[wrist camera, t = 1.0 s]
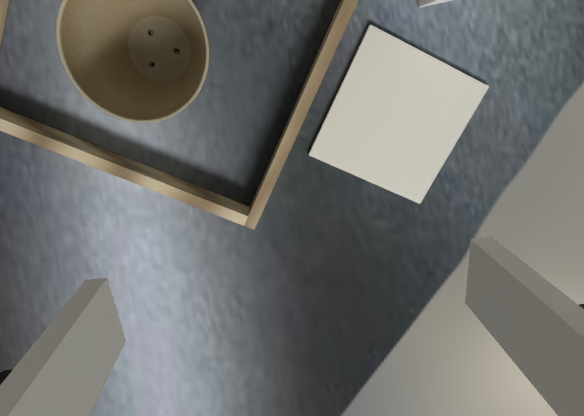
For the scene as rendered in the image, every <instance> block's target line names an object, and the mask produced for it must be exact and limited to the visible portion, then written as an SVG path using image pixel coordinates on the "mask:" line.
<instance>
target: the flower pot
mask: <svg viewBox="0 0 584 416" xmlns="http://www.w3.org/2000/svg"><path fill="white" fill-rule="evenodd" d="M148 32H150V33H151V35H149V34H148ZM56 42H57V48H58V53H59V56H60V59H61V62H62V65H63V67H64V69H65V71H66V73H67V75H68V77H69V78H70V80H71V82H72V83H73V85H74V86H75V87H76V89H77V90H78V91H79V92H80V93H81V94H82V96H84V97H85V98H86V99H87V100H88V101H89V102H90V103H91V104H92V105H94V106H95V107H96V108H98V109H99V110H101V111H103V112H104V113H106V114H108V115H110V116H112V117H115V118H117V119H120V120H124V121H128V122H133V123H153V122H158V121H162V120H165V119H168V118H170V117H173V116H174V115H176V114H178V113H180V112H181V111H182V110H184V109H185V108H186V107H187V106H188V105H189V104H190V103H191V102H192V101H193V100H194V99H195V97H196V96H197V94H198V93H199V91H200V89H201V87H202V85H203V83H204V81H205V78H206V75H207V71H208V67H209V57H210V52H209V40H208V35H207V31H206V28H205V25H204V22H203V20H202V17H201V15H200V13H199V11H198V9H197V8H196V6H195V4H194V3H193V1H192V0H62V1H61V3H60V6H59V10H58V14H57V19H56ZM175 49H179V50H178V51H176V50H175ZM153 63H154V67H152V64H153Z"/></svg>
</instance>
